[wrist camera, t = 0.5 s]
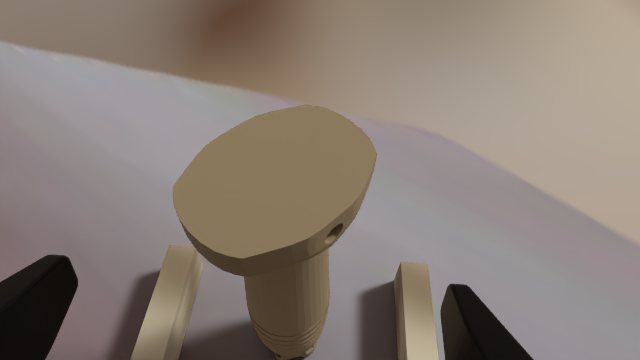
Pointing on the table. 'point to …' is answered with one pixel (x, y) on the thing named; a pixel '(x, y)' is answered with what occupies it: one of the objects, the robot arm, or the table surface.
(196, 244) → the handle
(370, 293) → the table surface
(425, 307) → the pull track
